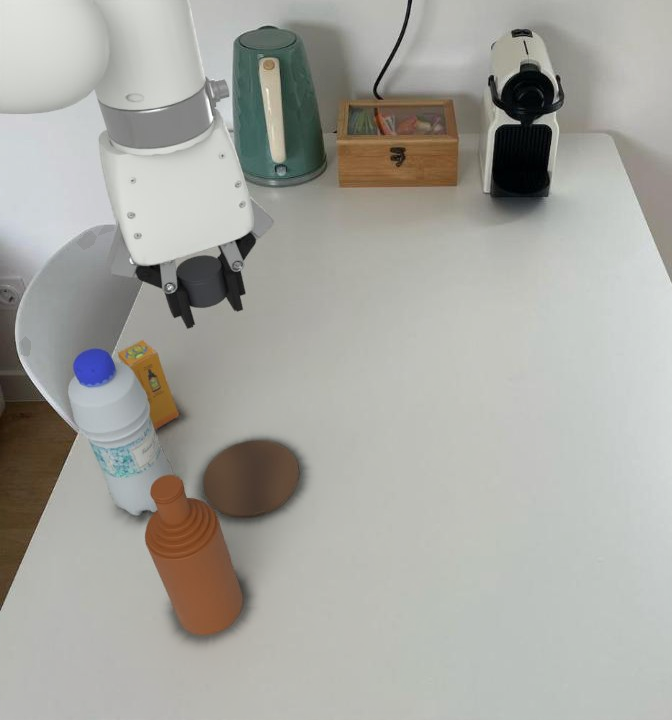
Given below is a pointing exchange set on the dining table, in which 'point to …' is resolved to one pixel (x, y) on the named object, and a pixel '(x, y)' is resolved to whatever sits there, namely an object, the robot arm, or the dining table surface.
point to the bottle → (118, 428)
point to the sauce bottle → (192, 559)
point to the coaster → (251, 479)
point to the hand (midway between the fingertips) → (209, 309)
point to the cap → (202, 281)
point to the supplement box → (151, 381)
